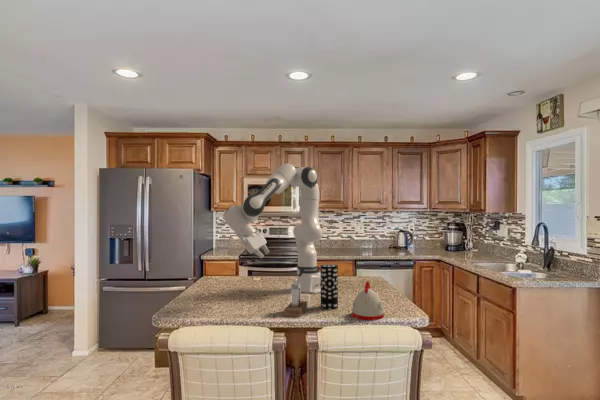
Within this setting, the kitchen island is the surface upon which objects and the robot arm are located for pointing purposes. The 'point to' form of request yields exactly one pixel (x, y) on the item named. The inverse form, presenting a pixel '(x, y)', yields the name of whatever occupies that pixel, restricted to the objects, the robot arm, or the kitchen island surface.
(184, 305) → the kitchen island surface
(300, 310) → the brown slotted block
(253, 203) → the robot arm
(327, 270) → the spotted tube
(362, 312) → the kitchen timer
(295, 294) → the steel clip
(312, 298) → the kitchen island surface
